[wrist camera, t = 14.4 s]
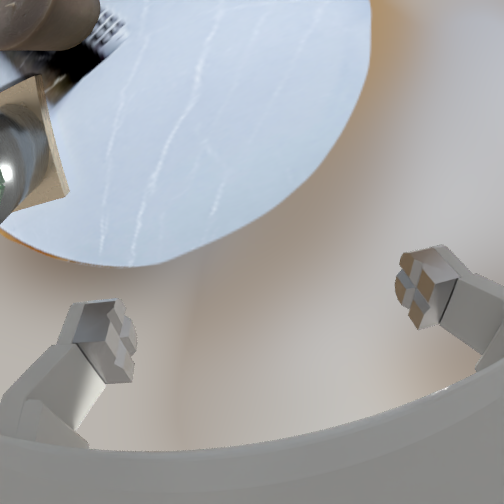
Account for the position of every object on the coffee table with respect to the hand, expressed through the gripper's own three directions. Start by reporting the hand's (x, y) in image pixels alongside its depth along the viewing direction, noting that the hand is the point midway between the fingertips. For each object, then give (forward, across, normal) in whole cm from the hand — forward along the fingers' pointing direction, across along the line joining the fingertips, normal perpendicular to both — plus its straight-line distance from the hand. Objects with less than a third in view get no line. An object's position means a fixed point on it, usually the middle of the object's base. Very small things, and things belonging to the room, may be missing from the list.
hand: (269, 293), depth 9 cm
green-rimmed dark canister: (+34, +30, -2) cm, 45 cm away
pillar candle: (+34, +18, -18) cm, 43 cm away
